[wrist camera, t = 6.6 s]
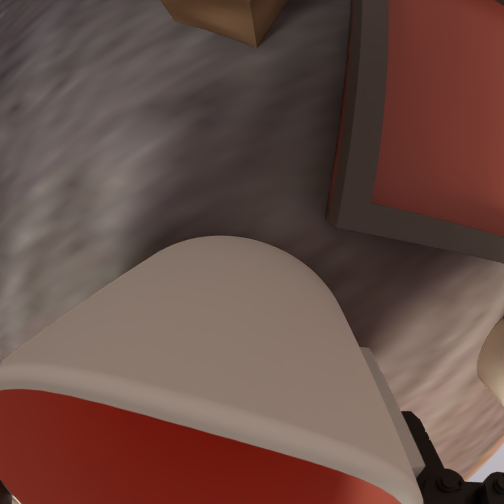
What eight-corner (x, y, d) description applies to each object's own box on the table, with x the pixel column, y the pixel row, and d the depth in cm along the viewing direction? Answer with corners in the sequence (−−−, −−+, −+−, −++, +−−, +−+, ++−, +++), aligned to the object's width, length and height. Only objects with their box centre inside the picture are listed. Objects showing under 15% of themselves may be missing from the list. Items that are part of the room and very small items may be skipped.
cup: (194, 180, 12) (-20, 195, 2) (386, 316, 13) (504, 494, 3) (98, 351, 14) (-18, 481, 5) (257, 446, 15) (240, 605, 5)
